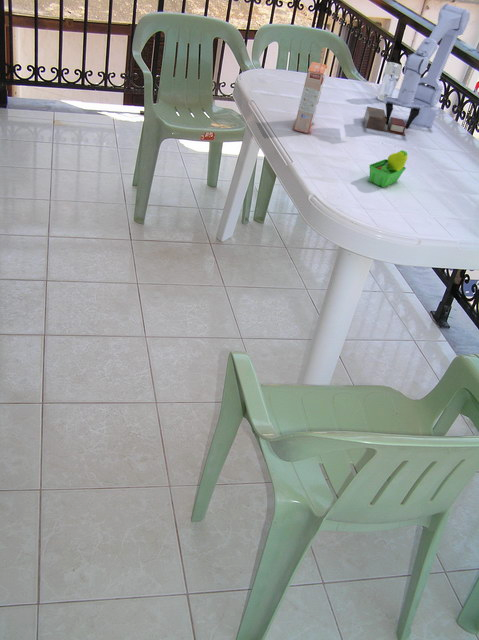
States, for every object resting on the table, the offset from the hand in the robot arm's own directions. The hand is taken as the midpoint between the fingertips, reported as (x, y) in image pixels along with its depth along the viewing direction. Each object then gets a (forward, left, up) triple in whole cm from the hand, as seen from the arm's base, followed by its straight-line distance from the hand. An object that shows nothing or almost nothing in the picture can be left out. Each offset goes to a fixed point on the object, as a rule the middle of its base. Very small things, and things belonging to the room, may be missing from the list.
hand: (396, 125), depth 254 cm
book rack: (+4, 0, -3) cm, 5 cm away
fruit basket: (+9, +53, -3) cm, 54 cm away
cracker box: (+35, +15, -3) cm, 38 cm away
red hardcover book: (0, 0, -1) cm, 1 cm away
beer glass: (0, -44, -3) cm, 44 cm away
